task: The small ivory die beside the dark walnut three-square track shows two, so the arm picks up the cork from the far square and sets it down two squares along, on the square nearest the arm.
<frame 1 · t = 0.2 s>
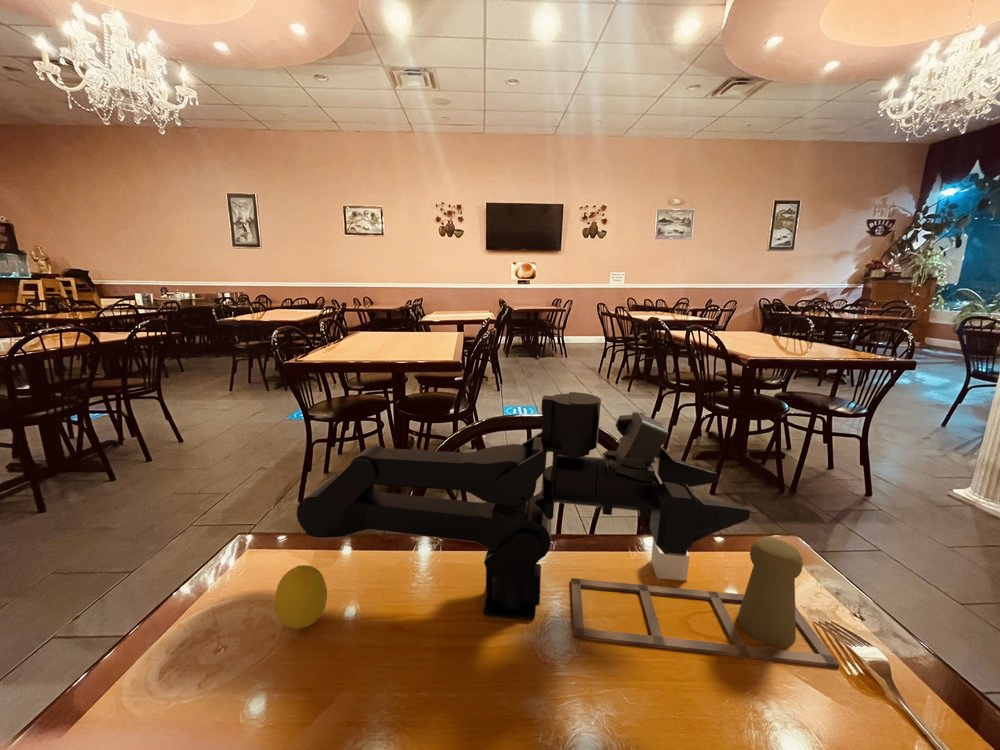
hand: (731, 494, 49), 17 cm above the table, tool horizontal, fingers open, 9 cm apart
lemon: (304, 628, 51), on the table
die: (668, 571, 62), on the table
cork: (765, 628, 52), on the table
three-pane window frame: (687, 618, 53), on the table
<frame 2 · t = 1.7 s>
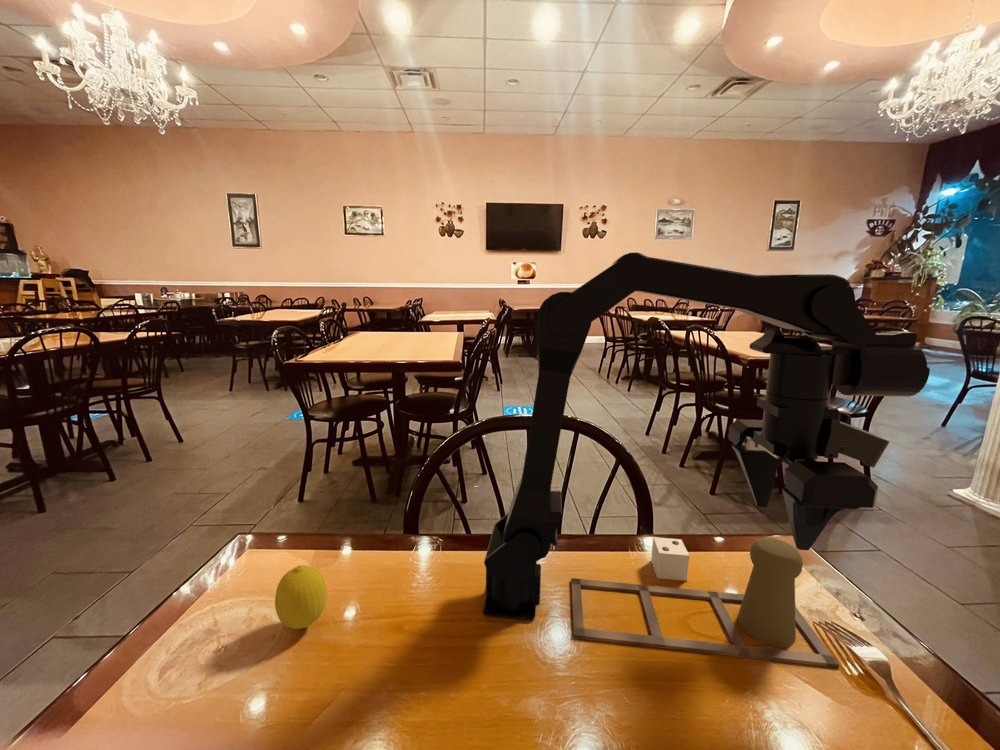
hand: (780, 525, 49), 13 cm above the table, tool pointing down, fingers open, 9 cm apart
nothing on the table moved.
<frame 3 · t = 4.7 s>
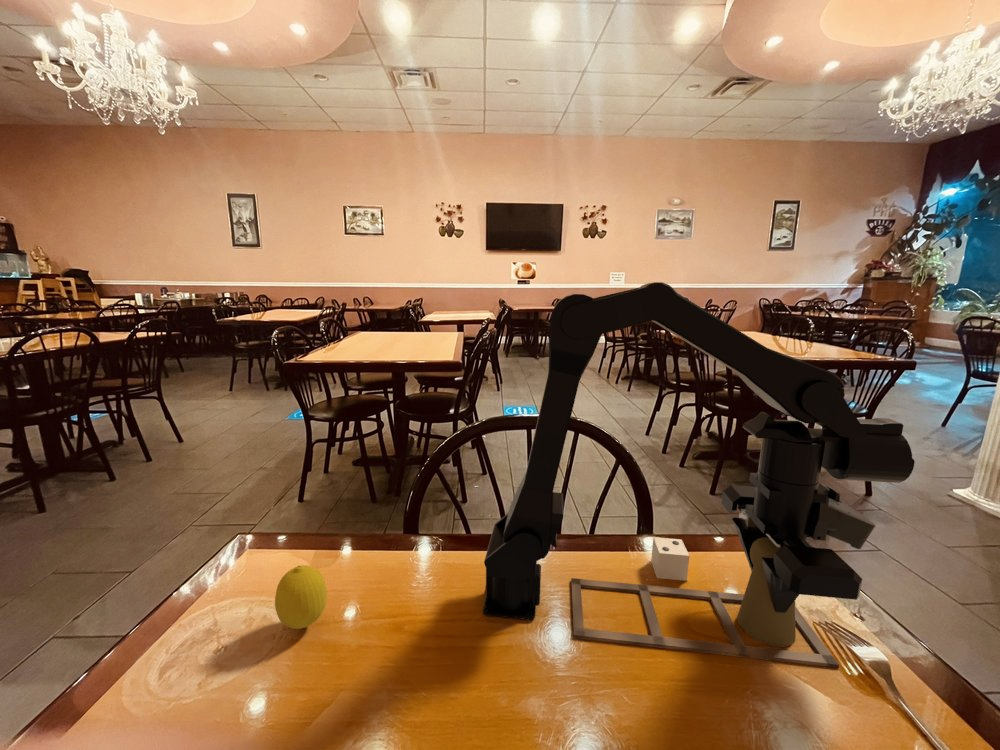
hand: (769, 597, 51), 4 cm above the table, tool pointing down, fingers closed on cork, 4 cm apart
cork: (765, 628, 52), on the table, touching gripper
everything else where it was.
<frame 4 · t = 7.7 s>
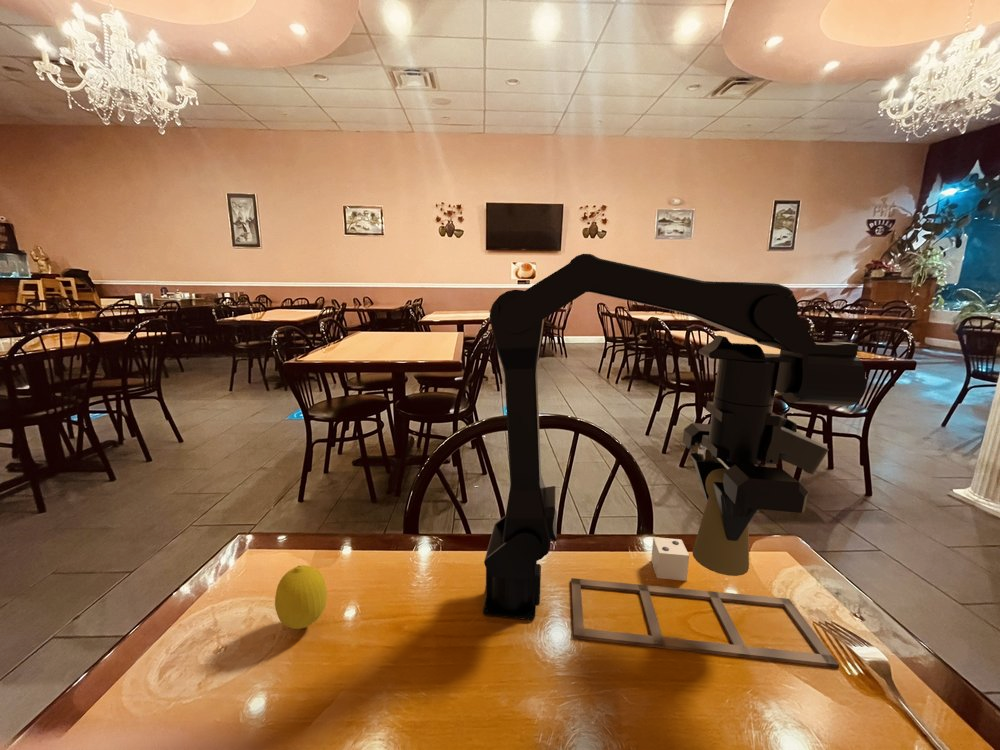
hand: (723, 528, 50), 12 cm above the table, tool pointing down, fingers closed on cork, 4 cm apart
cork: (719, 560, 51), point 8 cm above the table, touching gripper
everything else where it was.
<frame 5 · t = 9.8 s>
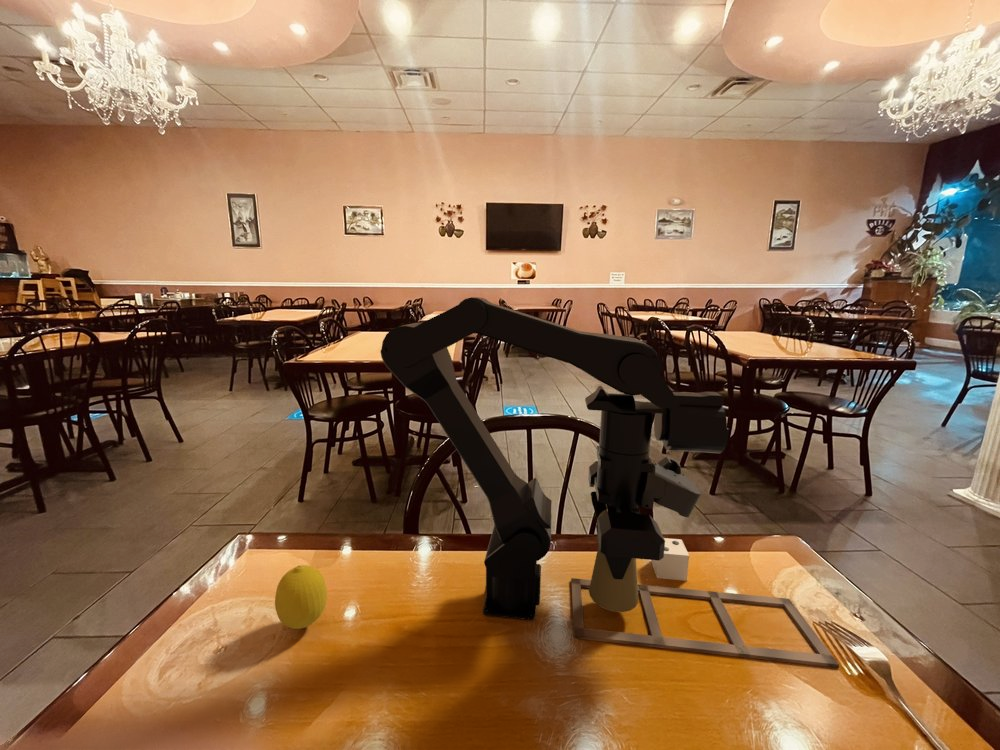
hand: (615, 566, 53), 6 cm above the table, tool pointing down, fingers closed on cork, 4 cm apart
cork: (613, 595, 54), point 2 cm above the table, touching gripper
everything else where it was.
when the fingers open (5 cm above the table, at t = 11.1 s): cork stays where it is, on the table.
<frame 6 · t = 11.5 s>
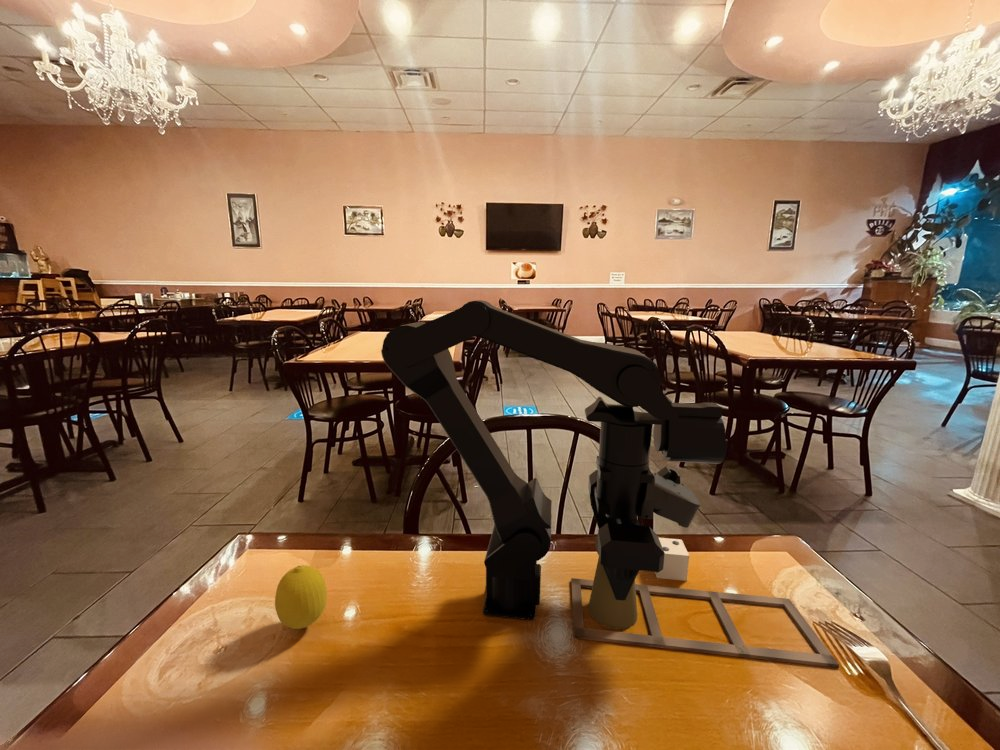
hand: (615, 575, 53), 5 cm above the table, tool pointing down, fingers open, 8 cm apart
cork: (612, 612, 54), on the table
everything else where it was.
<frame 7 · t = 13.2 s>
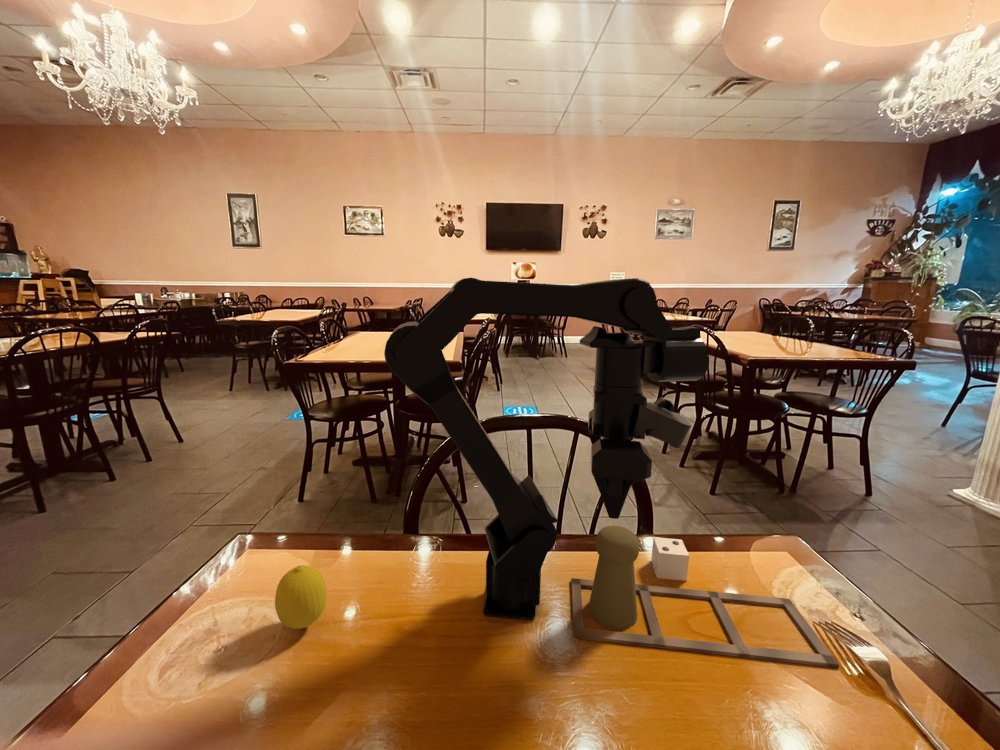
hand: (610, 500, 55), 13 cm above the table, tool pointing down, fingers open, 9 cm apart
nothing on the table moved.
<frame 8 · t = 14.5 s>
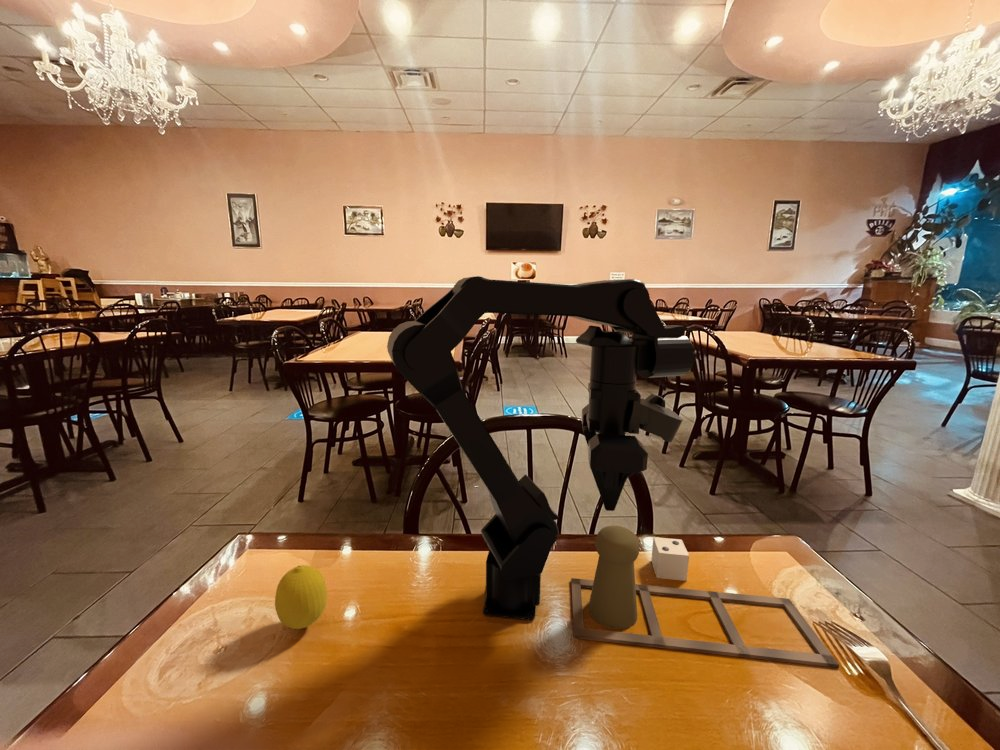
hand: (605, 493, 57), 13 cm above the table, tool pointing down, fingers open, 9 cm apart
nothing on the table moved.
at the end: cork 0.1 cm from the target spot, on the table; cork tilted 0°; the gripper is holding nothing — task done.
